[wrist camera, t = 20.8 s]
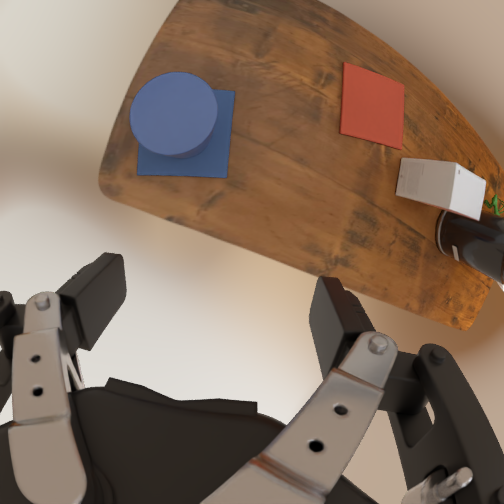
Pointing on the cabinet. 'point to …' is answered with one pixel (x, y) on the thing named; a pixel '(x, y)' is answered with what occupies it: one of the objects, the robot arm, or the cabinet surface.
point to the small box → (441, 186)
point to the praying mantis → (494, 204)
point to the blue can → (174, 115)
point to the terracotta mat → (371, 107)
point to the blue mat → (204, 163)
